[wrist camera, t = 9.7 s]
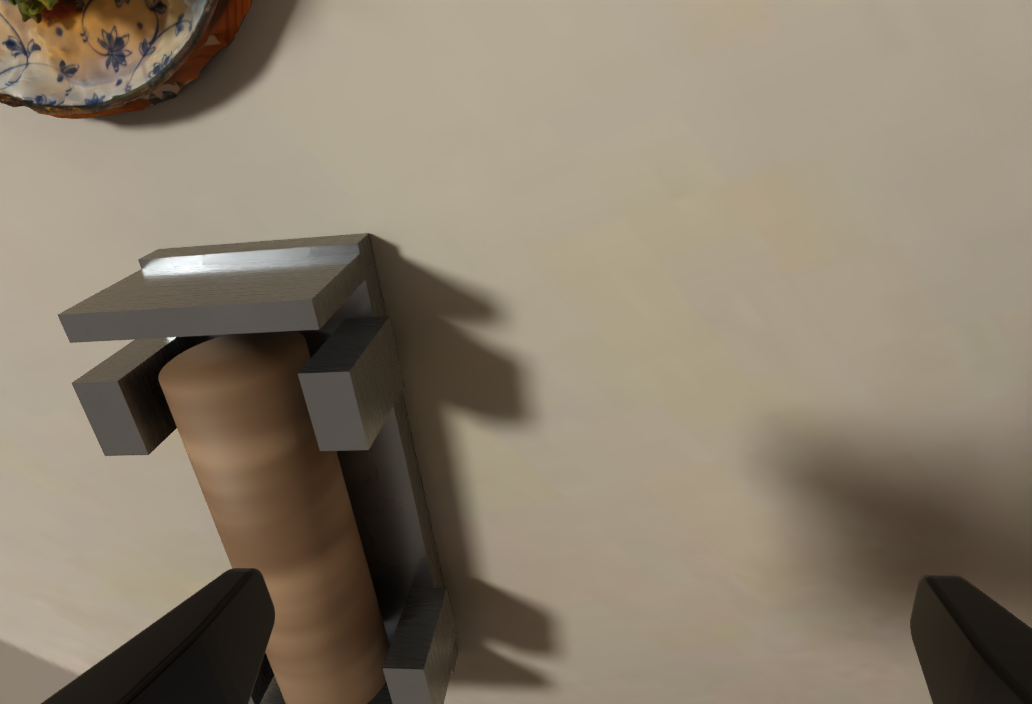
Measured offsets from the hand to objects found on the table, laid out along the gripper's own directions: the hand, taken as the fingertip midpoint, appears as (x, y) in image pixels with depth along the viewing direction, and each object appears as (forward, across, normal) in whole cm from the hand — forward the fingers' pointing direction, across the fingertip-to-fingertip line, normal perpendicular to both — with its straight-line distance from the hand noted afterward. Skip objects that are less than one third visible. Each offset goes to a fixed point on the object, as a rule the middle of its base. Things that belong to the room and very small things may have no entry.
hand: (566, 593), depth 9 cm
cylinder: (+11, +10, +7) cm, 16 cm away
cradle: (+12, +10, +7) cm, 17 cm away
